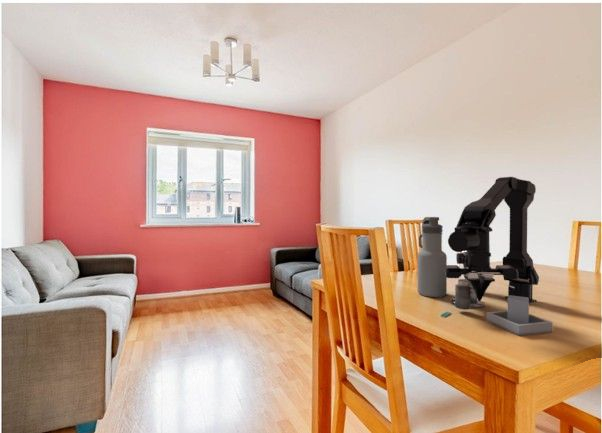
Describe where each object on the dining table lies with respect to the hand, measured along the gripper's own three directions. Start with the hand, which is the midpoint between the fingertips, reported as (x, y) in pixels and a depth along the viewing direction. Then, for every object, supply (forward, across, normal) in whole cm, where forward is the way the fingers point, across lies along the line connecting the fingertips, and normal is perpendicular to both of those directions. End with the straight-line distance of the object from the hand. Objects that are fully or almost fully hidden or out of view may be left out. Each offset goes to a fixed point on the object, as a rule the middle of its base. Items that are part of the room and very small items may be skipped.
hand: (479, 300), depth 93 cm
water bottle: (+4, +10, -20) cm, 23 cm away
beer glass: (+5, -5, -27) cm, 28 cm away
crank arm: (+3, +2, -6) cm, 7 cm away
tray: (+4, -7, +8) cm, 12 cm away
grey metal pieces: (+4, +5, -6) cm, 8 cm away
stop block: (+4, -7, +8) cm, 11 cm away
